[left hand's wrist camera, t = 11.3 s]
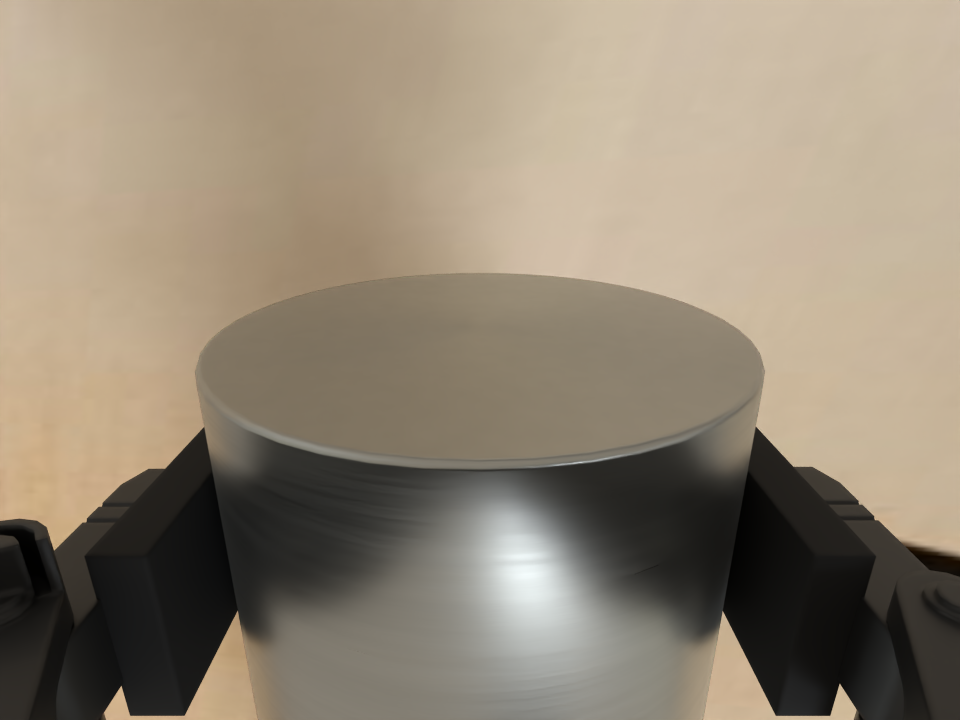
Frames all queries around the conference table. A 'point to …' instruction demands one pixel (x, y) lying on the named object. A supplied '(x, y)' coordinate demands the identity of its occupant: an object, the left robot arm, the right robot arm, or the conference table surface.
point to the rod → (480, 497)
